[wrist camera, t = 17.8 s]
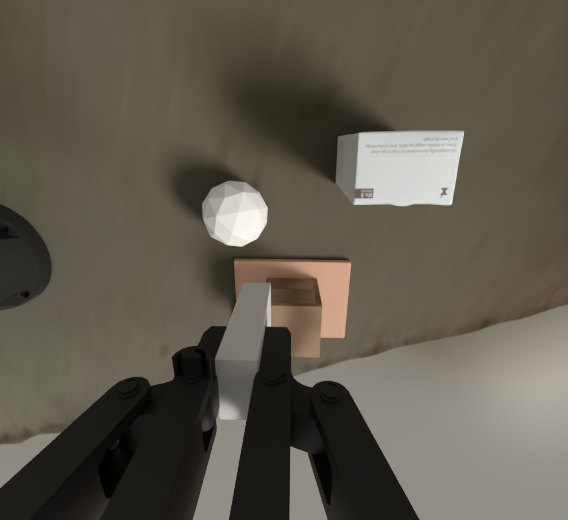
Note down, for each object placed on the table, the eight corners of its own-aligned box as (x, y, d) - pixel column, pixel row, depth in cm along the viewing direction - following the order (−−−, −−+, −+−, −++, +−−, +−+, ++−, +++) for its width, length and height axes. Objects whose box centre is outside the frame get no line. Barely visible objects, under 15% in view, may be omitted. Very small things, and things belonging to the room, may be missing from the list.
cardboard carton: (267, 321, 44) (262, 356, 37) (266, 277, 42) (261, 305, 34) (314, 322, 44) (319, 357, 36) (316, 278, 42) (322, 306, 34)
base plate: (239, 331, 46) (237, 335, 45) (235, 258, 42) (234, 260, 41) (343, 334, 46) (344, 337, 45) (349, 260, 42) (351, 262, 41)
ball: (233, 193, 42) (212, 157, 34) (283, 215, 40) (273, 182, 32) (204, 239, 40) (176, 212, 33) (255, 264, 38) (237, 242, 31)
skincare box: (403, 135, 36) (473, 124, 22) (397, 186, 38) (458, 206, 24) (333, 136, 36) (359, 126, 22) (331, 187, 38) (353, 207, 24)
